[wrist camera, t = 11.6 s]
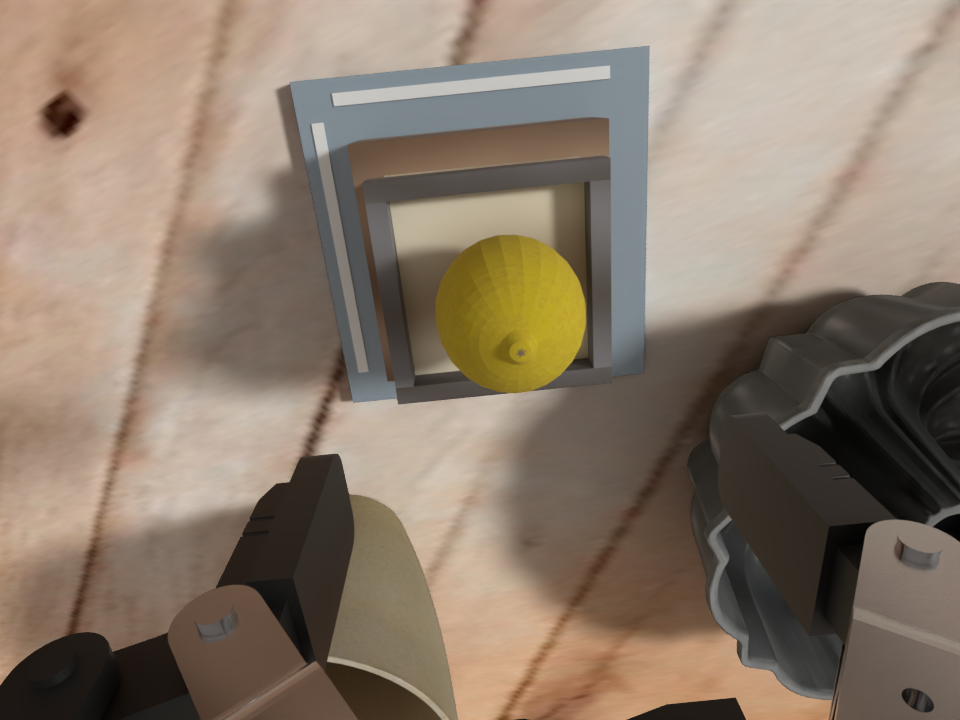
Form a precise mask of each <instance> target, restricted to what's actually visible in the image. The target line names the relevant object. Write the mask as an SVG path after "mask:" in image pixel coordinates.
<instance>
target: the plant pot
mask: <svg viewBox="0 0 960 720" xmlns="http://www.w3.org/2000/svg"><path fill="white" fill-rule="evenodd" d="M349 498H350V502H351V507H352V512H353V517H354V544H353V549H352V554H351V558H350V562H349V567H348V571H347V576H346V580H345V585H344V589H343V593H342V598H341V602H340V607H339V611H338V616H337V620H336V624H335V629H334V633H333V638H332V642H331V646H330V651H329V655H328V660H327V664H326V669H325V673H326V674H327V676H328V677H329V679H330V680H331V682H332V683H333V685H334V686H335V687H336V689H337V690H338V692H339V693H340V695H341V696H342V697H343V699H344V700H345V702H346V703H347V705H348V706H349V707H350V709H351V710H352V712H353V713H354V715H355V716H356V717H357V719H358V720H458V717H457V711H456V705H455V699H454V693H453V687H452V681H451V675H450V670H449V664H448V660H447V655H446V650H445V646H444V642H443V637H442V633H441V629H440V625H439V621H438V618H437V614H436V611H435V607H434V604H433V600H432V597H431V594H430V591H429V587H428V584H427V581H426V579H425V576H424V573H423V570H422V568H421V565H420V562H419V560H418V558H417V555H416V553H415V550H414V548H413V546H412V544H411V541H410V539H409V537H408V535H407V533H406V531H405V529H404V527H403V525H402V523H401V521H400V520H399V518H398V517H397V516H396V515H395V513H394V512H393V511H392V510H390V509H389V508H388V507H387V506H385V505H384V504H382V503H380V502H378V501H376V500H373V499H371V498H367V497H363V496H357V495H349Z"/></svg>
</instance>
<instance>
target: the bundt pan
mask: <svg viewBox="0 0 960 720" xmlns="http://www.w3.org/2000/svg"><path fill="white" fill-rule="evenodd" d="M753 413H766V414H768V415H769V416H770V417H771V418H772V419H773V420H774V421H775V422H776V423H777V424H778V425H779V426H780V427H781V428H782V429H783V430H784V431H785V432H786V433H787V434H797V435H799V436H801V437H803V438H805V439H807V440H809V441H811V442H813V443H814V444H816V445H818V446H820V447H821V448H822V449H823V450H824V451H825V452H826V453H827V454H828V455H829V456H830V457H832V458H833V459H834V460H835V461H836V465H840V466H841V467H842V468H843V469H844V470H845V471H846V472H847V473H849V474H850V478H854V479H855V480H856V481H857V482H858V483H859V484H860V485H861V486H862V487H863V488H864V489H865V490H867V491H868V492H869V493H870V494H871V495H872V496H873V497H874V498H875V499H876V500H877V501H878V502H879V503H880V504H881V505H882V506H883V507H885V508H886V509H887V510H888V511H889V512H890V513H891V514H892V515H893V516H894V517H895V518H896V519H897V520H906V521H913V522H917V523H921V524H925V525H928V526H931V527H933V528H936V529H938V530H940V531H942V532H945V533H946V534H948V535H950V536H952V537H953V538H955V539H956V540H957V541H959V542H960V284H956V283H950V282H935V283H928V284H925V285H921V286H919V287H916V288H914V289H912V290H910V291H909V292H907V293H905V294H904V295H902V296H893V295H869V296H862V297H857V298H853V299H850V300H847V301H844V302H842V303H840V304H837V305H836V306H834V307H832V308H830V309H829V310H827V311H826V312H824V313H823V314H822V315H821V316H820V317H819V318H817V319H816V321H815V322H814V323H813V324H812V325H811V327H810V328H809V329H808V331H807V333H805V334H794V335H784V336H774V337H772V338H770V339H769V340H768V342H767V346H766V349H765V352H764V355H763V358H762V361H761V364H760V367H759V369H758V370H755V371H752V372H749V373H746V374H744V375H742V376H740V377H739V378H737V379H735V380H734V381H733V382H731V383H730V384H729V385H728V386H727V387H726V388H725V389H724V390H723V391H722V392H721V394H720V395H719V396H718V398H717V400H716V402H715V404H714V407H713V409H712V413H711V417H710V421H709V436H710V437H709V438H708V439H706V440H705V441H704V442H702V443H701V444H699V445H698V446H697V447H695V448H694V449H693V451H692V452H691V454H690V456H689V458H688V464H687V465H688V472H689V475H690V478H691V481H692V483H693V486H694V489H695V493H694V495H693V499H692V504H691V515H690V516H691V525H692V530H693V534H694V537H695V540H696V544H697V547H698V550H699V553H700V557H701V560H702V563H703V566H704V570H705V573H706V576H707V579H706V599H707V603H708V606H709V609H710V611H711V613H712V615H713V617H714V619H715V621H716V622H717V624H718V625H719V626H720V627H721V628H722V629H723V630H724V631H725V632H726V633H727V634H729V635H730V636H732V637H733V638H735V639H737V654H738V656H739V658H740V661H741V663H742V664H743V665H744V666H746V667H750V668H757V669H764V670H770V671H772V672H773V673H774V674H775V676H776V678H777V680H778V681H779V682H780V683H781V684H782V685H783V686H784V687H786V688H787V689H789V690H790V691H792V692H794V693H796V694H799V695H801V696H805V697H808V698H814V699H822V700H832V697H833V691H834V685H835V680H836V674H837V668H838V663H839V657H840V652H841V648H842V641H841V640H840V638H839V637H838V636H837V634H828V635H817V636H809V635H808V634H807V632H806V631H805V629H804V628H803V626H802V625H801V623H800V622H799V620H798V619H797V617H796V616H795V614H794V613H793V611H792V609H791V608H790V606H789V605H788V603H787V602H786V600H785V599H784V597H783V596H782V594H781V593H780V591H779V590H778V588H777V587H776V585H775V584H774V582H773V581H772V579H771V578H770V576H769V575H768V573H767V572H766V570H765V569H764V567H763V566H762V564H761V563H760V561H759V560H758V558H757V557H756V555H755V554H754V552H753V551H752V549H751V548H750V546H749V545H748V543H747V542H746V540H745V539H744V537H743V536H742V534H741V533H740V531H739V530H738V528H737V527H736V525H735V524H734V522H733V521H732V519H731V518H730V516H729V515H728V513H727V512H726V510H725V508H724V506H723V504H722V501H721V498H720V494H719V489H718V470H719V458H720V446H721V434H722V425H723V421H724V419H725V418H726V417H727V416H733V415H743V414H753Z"/></svg>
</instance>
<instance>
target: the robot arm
mask: <svg viewBox="0 0 960 720" xmlns="http://www.w3.org/2000/svg"><path fill="white" fill-rule="evenodd" d="M718 489H719V494H720V498H721V501H722V504H723V506H724V508H725V510H726V512H727V513H728V515H729V516H730V518H731V519H732V521H733V522H734V524H735V525H736V527H737V528H738V530H739V531H740V533H741V534H742V536H743V537H744V539H745V540H746V542H747V543H748V545H749V546H750V548H751V549H752V551H753V552H754V554H755V555H756V557H757V558H758V560H759V561H760V563H761V564H762V566H763V567H764V569H765V570H766V572H767V573H768V575H769V576H770V578H771V579H772V581H773V582H774V584H775V585H776V587H777V588H778V590H779V591H780V593H781V594H782V596H783V597H784V599H785V600H786V602H787V603H788V605H789V606H790V608H791V609H792V611H793V613H794V614H795V616H796V617H797V619H798V620H799V622H800V623H801V625H802V626H803V628H804V629H805V631H806V632H807V634H808V635H809V636H817V635H828V634H837V636H838V637H839V638H840V640H841V641H842V648H841V652H840V657H839V663H838V668H837V674H836V680H835V685H834V691H833V697H832V702H831V708H830V714H829V719H828V720H960V542H959V541H957V540H956V539H955V538H953V537H952V536H950V535H948V534H946V533H945V532H942V531H940V530H938V529H936V528H933V527H931V526H928V525H925V524H921V523H917V522H913V521H906V520H897V519H896V518H895V517H894V516H893V515H892V514H891V513H890V512H889V511H888V510H887V509H886V508H885V507H883V506H882V505H881V504H880V503H879V502H878V501H877V500H876V499H875V498H874V497H873V496H872V495H871V494H870V493H869V492H868V491H867V490H865V489H864V488H863V487H862V486H861V485H860V484H859V483H858V482H857V481H856V480H855V479H854V478H850V474H849V473H847V472H846V471H845V470H844V469H843V468H842V467H841V466H840V465H836V461H835V460H834V459H833V458H832V457H830V456H829V455H828V454H827V453H826V452H825V451H824V450H823V449H822V448H821V447H820V446H818V445H816V444H814V443H813V442H811V441H809V440H807V439H805V438H803V437H801V436H799V435H797V434H787V433H786V432H785V431H784V430H783V429H782V428H781V427H780V426H779V425H778V424H777V423H776V422H775V421H774V420H773V419H772V418H771V417H770V416H769V415H768V414H766V413H753V414H743V415H733V416H727V417H726V418H725V419H724V421H723V425H722V434H721V446H720V458H719V470H718ZM353 544H354V517H353V512H352V507H351V502H350V498H349V493H348V488H347V484H346V479H345V475H344V470H343V465H342V461H341V458H340V456H339V455H338V454H329V455H318V456H308V457H302V458H300V460H299V462H298V464H297V466H296V469H295V471H294V473H293V476H292V478H291V480H290V482H289V483H279V484H276V485H275V486H273V487H272V488H271V489H270V490H269V491H268V492H267V493H266V494H265V495H264V496H263V497H262V498H261V499H260V500H259V501H258V503H257V505H256V507H255V509H254V511H253V513H252V515H251V517H250V522H248V523H247V525H246V527H245V529H244V531H243V537H240V540H239V542H238V544H237V546H236V548H235V550H234V552H233V554H232V556H231V558H230V560H229V562H228V564H227V566H226V568H225V570H224V572H223V574H222V576H221V578H220V580H219V583H218V585H217V587H216V589H213V590H210V591H208V592H206V593H204V594H202V595H200V596H199V597H197V598H195V599H194V600H193V601H191V602H190V603H188V604H187V605H186V606H185V607H184V608H183V609H182V610H181V611H180V612H179V613H178V614H177V615H176V617H175V618H174V620H173V621H172V623H171V625H170V628H169V631H168V633H166V634H163V635H161V636H158V637H155V638H152V639H149V640H147V641H144V642H141V643H138V644H135V645H132V646H129V647H126V648H123V649H120V650H117V651H114V652H112V650H111V648H110V646H109V643H108V641H107V640H106V639H105V637H103V636H102V635H100V634H96V633H90V632H84V633H77V634H72V635H68V636H65V637H62V638H60V639H57V640H55V641H52V642H50V643H49V644H47V645H45V646H43V647H41V648H40V649H38V650H36V651H35V652H33V653H32V654H31V655H29V656H28V657H26V658H25V659H24V660H23V661H22V662H20V663H19V664H18V665H17V666H16V667H15V668H14V669H13V670H12V671H11V672H10V674H9V675H8V676H7V677H6V679H5V680H4V681H3V683H2V684H1V685H0V720H358V719H357V717H356V716H355V715H354V713H353V712H352V710H351V709H350V707H349V706H348V705H347V703H346V702H345V700H344V699H343V697H342V696H341V695H340V693H339V692H338V690H337V689H336V687H335V686H334V685H333V683H332V682H331V680H330V679H329V677H328V676H327V674H326V673H325V669H326V664H327V660H328V655H329V651H330V646H331V642H332V638H333V633H334V629H335V624H336V620H337V616H338V611H339V607H340V602H341V598H342V593H343V589H344V585H345V580H346V576H347V571H348V567H349V562H350V558H351V554H352V549H353ZM516 720H528V719H516ZM627 720H746V719H745V717H744V714H743V712H742V710H741V708H740V706H739V704H738V702H737V700H736V698H728V699H718V700H708V701H698V702H687V703H677V704H667V705H664V706H661V707H659V708H656V709H654V710H651V711H648V712H646V713H643V714H641V715H638V716H635V717H633V718H630V719H627Z"/></svg>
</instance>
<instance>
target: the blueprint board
mask: <svg viewBox="0 0 960 720" xmlns="http://www.w3.org/2000/svg"><path fill="white" fill-rule="evenodd" d="M290 87H291V92H292V97H293V102H294V107H295V112H296V117H297V122H298V127H299V132H300V137H301V143H302V148H303V153H304V158H305V163H306V168H307V173H308V178H309V183H310V188H311V193H312V198H313V203H314V208H315V213H316V218H317V223H318V228H319V233H320V238H321V243H322V248H323V253H324V258H325V263H326V268H327V273H328V278H329V284H330V289H331V294H332V299H333V304H334V309H335V314H336V319H337V324H338V329H339V334H340V339H341V344H342V349H343V354H344V359H345V364H346V369H347V374H348V379H349V384H350V389H351V394H352V399H353V403H356V402H366V401H376V400H386V399H395V398H397V394H396V388H395V382H394V381H390V382H388V381H387V376H386V370H385V364H384V358H383V352H382V346H381V340H380V335H379V329H378V323H377V317H376V311H375V305H374V299H373V293H372V288H371V282H370V276H369V270H368V264H367V258H366V252H365V246H364V241H363V235H362V229H361V223H360V217H359V211H358V205H357V199H356V194H355V188H354V182H353V176H352V170H351V164H350V158H349V152H348V147H347V145H348V144H350V143H353V142H356V141H358V140H365V139H375V138H384V137H394V136H404V135H414V134H424V133H434V132H444V131H454V130H464V129H474V128H484V127H494V126H503V125H513V124H523V123H533V122H543V121H553V120H563V119H573V118H583V117H600V118H609V157H610V158H611V318H612V377H613V376H623V375H633V374H643V373H644V331H645V274H646V217H647V160H648V103H649V46H643V47H633V48H623V49H613V50H603V51H593V52H583V53H574V54H564V55H554V56H544V57H534V58H524V59H514V60H504V61H494V62H484V63H474V64H464V65H455V66H445V67H435V68H425V69H415V70H405V71H395V72H385V73H375V74H365V75H355V76H345V77H336V78H326V79H316V80H306V81H296V82H290Z"/></svg>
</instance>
